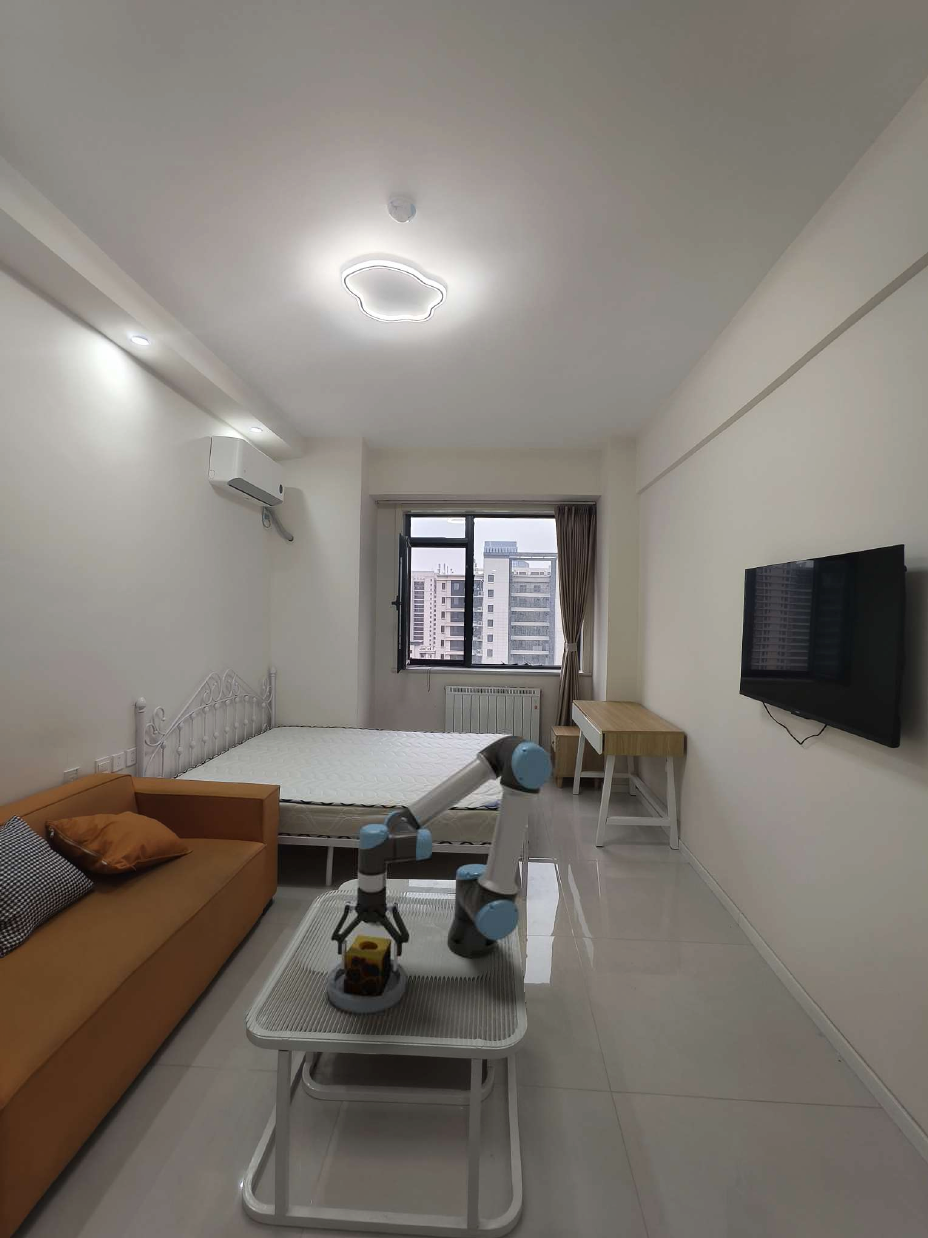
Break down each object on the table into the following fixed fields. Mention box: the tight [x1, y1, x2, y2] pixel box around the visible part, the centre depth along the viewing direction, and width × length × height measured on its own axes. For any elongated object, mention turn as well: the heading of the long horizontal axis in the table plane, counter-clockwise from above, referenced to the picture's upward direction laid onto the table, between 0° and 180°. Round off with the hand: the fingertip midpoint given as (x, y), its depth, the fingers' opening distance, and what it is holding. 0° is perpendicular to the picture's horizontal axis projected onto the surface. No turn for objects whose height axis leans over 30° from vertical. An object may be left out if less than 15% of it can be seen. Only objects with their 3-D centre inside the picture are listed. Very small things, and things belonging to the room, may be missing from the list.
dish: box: [326, 958, 407, 1015], centre depth 154 cm, size 20×20×3 cm
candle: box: [343, 934, 392, 997], centre depth 154 cm, size 10×10×10 cm
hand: (369, 967), depth 154 cm, fingers open, 13 cm apart
